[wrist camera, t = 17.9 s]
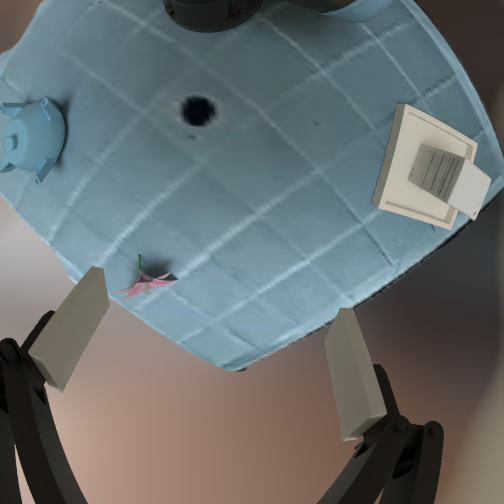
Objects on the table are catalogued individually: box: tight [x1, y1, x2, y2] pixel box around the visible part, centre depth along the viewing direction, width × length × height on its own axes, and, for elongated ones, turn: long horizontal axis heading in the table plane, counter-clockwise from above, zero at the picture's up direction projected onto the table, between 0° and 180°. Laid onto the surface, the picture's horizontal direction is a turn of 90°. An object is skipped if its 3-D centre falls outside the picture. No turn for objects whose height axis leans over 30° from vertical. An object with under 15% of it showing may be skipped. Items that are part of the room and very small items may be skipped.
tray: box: [372, 104, 477, 230], centre depth 38 cm, size 18×18×3 cm
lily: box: [113, 254, 176, 299], centre depth 47 cm, size 12×12×10 cm
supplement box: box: [408, 144, 491, 220], centre depth 33 cm, size 7×7×13 cm
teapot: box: [0, 97, 65, 186], centre depth 32 cm, size 15×15×11 cm
